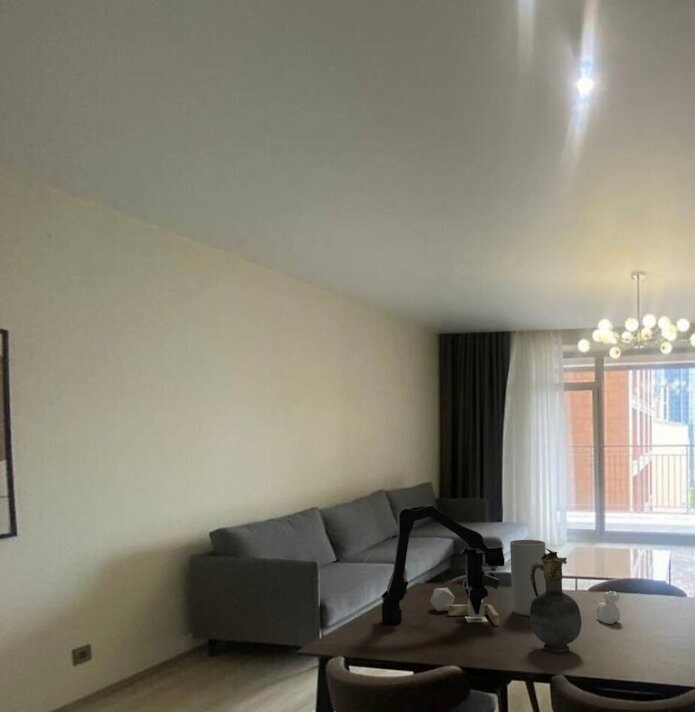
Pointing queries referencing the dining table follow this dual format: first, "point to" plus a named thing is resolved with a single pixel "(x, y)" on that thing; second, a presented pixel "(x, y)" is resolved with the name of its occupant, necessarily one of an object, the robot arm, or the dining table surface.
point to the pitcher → (554, 607)
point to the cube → (471, 610)
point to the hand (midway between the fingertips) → (475, 612)
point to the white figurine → (609, 608)
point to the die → (442, 599)
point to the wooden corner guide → (464, 611)
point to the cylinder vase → (525, 573)
